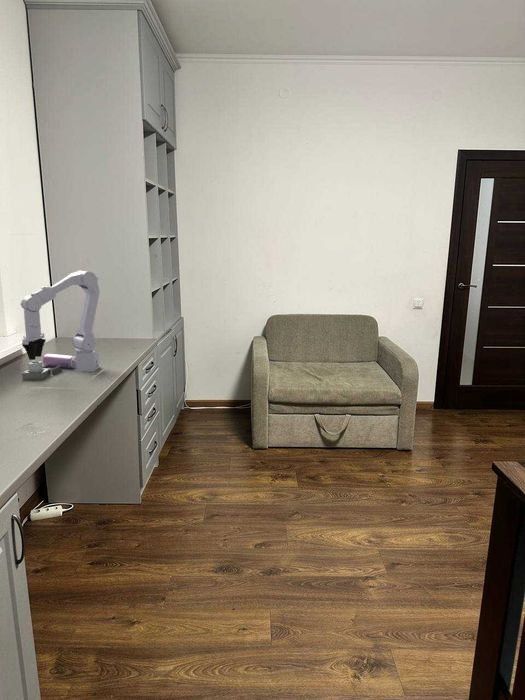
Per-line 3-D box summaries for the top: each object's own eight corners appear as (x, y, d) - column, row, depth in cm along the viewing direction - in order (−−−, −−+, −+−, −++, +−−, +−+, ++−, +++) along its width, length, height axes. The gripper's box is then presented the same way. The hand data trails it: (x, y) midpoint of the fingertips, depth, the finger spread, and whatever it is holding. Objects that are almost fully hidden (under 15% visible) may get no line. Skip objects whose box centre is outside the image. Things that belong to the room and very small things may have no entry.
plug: (43, 375, 203) (42, 360, 202) (38, 377, 199) (37, 362, 198) (33, 374, 203) (32, 359, 202) (29, 377, 199) (27, 362, 198)
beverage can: (41, 367, 217) (71, 370, 214) (41, 354, 217) (71, 357, 213) (50, 365, 223) (79, 368, 220) (50, 352, 222) (79, 355, 219)
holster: (61, 371, 212) (60, 365, 212) (54, 376, 206) (53, 369, 205) (46, 371, 213) (46, 364, 212) (39, 375, 206) (38, 368, 205)
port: (50, 376, 205) (50, 367, 204) (41, 381, 197) (41, 372, 196) (32, 375, 205) (31, 367, 204) (22, 381, 197) (21, 372, 197)
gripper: (31, 322, 203) (34, 353, 206) (13, 328, 189) (16, 361, 192) (48, 323, 203) (50, 354, 206) (31, 329, 189) (34, 362, 192)
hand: (35, 358), depth 199 cm, fingers open, 5 cm apart
